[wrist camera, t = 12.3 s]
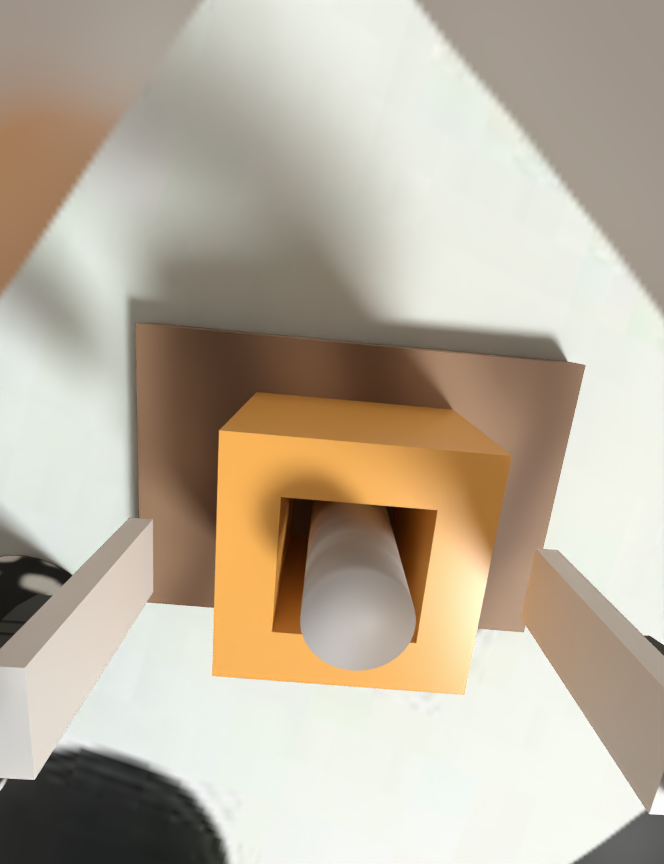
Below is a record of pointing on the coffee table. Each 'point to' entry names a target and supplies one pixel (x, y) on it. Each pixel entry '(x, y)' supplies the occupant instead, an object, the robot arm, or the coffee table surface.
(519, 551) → the post board
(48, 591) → the white-spotted black cylinder
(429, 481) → the collar
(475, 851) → the coffee table surface
